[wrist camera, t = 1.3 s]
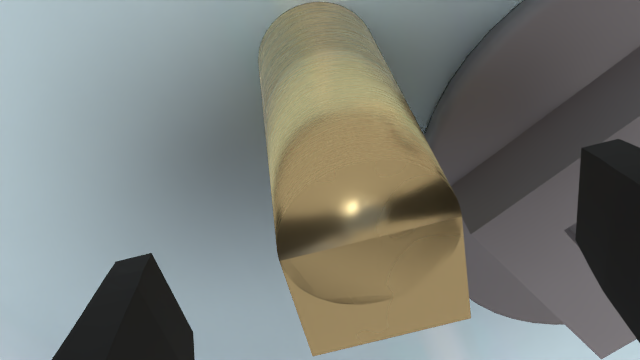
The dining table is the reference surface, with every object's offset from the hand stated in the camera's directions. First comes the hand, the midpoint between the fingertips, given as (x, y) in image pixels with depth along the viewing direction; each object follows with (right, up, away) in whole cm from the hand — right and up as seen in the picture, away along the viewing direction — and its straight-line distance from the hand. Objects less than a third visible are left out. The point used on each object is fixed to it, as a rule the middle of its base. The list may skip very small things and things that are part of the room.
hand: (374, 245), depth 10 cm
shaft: (-1, +4, +5) cm, 7 cm away
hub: (+8, +2, +8) cm, 12 cm away
